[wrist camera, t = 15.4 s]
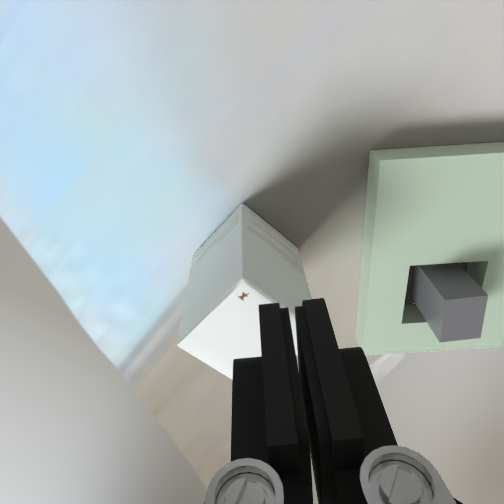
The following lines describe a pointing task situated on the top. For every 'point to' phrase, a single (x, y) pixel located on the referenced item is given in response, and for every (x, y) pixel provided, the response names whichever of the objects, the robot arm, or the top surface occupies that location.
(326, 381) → the robot arm
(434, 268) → the plug
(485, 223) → the socket plate
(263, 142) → the top surface
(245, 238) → the supplement box
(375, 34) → the top surface
